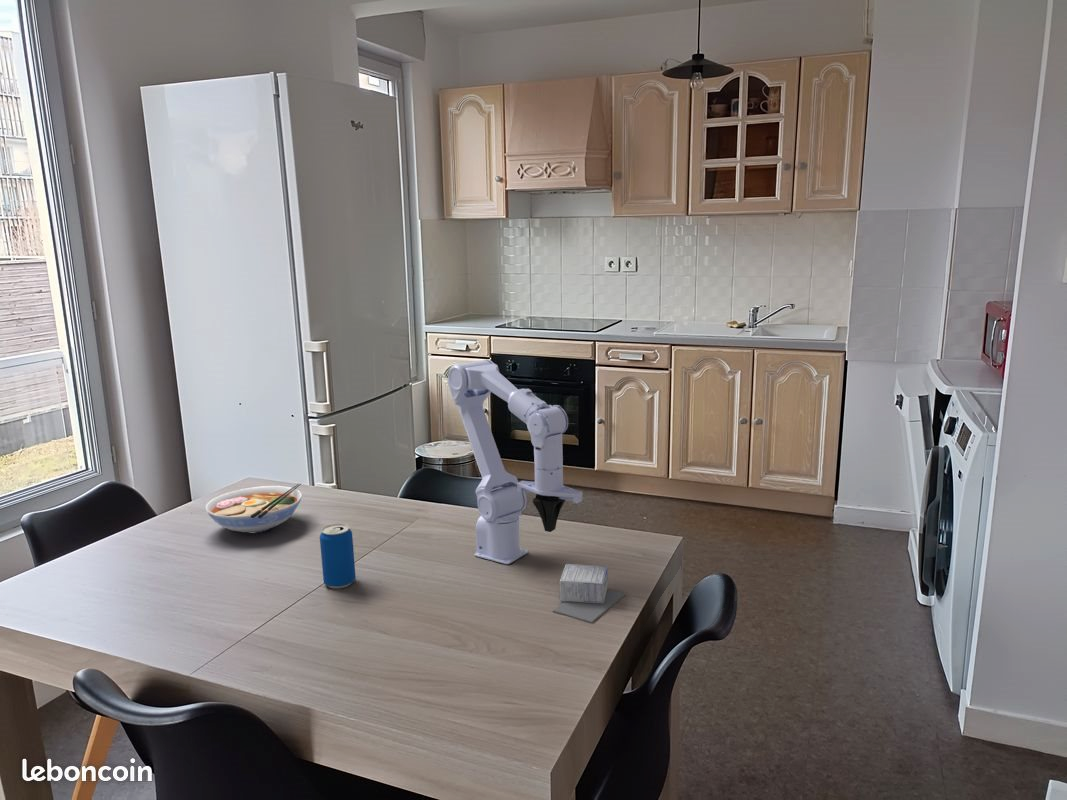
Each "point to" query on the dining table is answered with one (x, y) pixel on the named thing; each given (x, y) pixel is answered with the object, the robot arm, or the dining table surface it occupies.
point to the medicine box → (583, 583)
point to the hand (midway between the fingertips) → (550, 530)
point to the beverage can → (337, 556)
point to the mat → (588, 607)
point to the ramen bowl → (254, 507)
